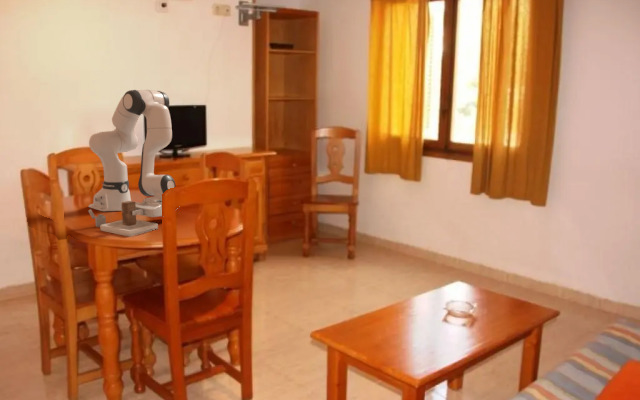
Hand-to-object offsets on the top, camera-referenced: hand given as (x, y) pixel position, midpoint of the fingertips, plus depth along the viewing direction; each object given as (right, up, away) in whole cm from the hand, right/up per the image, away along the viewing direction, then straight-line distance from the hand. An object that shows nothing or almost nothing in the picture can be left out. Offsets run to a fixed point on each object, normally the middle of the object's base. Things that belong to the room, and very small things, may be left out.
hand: (127, 212), depth 258 cm
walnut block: (0, -5, +2) cm, 6 cm away
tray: (0, -8, +2) cm, 8 cm away
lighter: (-16, -7, +7) cm, 18 cm away
